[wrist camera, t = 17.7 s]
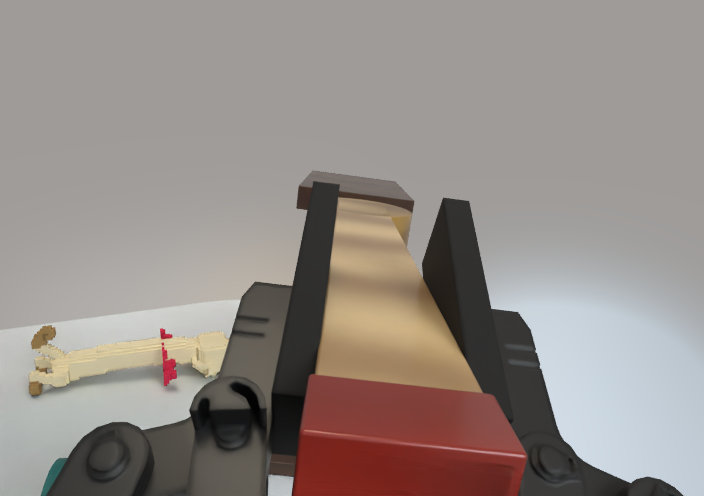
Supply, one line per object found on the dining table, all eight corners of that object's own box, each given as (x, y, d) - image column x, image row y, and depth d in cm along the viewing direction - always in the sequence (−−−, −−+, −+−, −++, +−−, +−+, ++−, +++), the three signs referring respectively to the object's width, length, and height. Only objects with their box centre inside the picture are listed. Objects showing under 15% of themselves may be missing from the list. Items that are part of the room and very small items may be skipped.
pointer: (582, 611, 7) (628, 466, 6) (186, 574, 7) (194, 420, 6) (399, 241, 31) (405, 203, 31) (311, 230, 31) (316, 192, 30)
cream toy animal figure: (28, 418, 52) (248, 379, 62) (17, 349, 50) (248, 320, 60) (44, 373, 61) (235, 346, 71) (35, 312, 59) (234, 293, 69)
